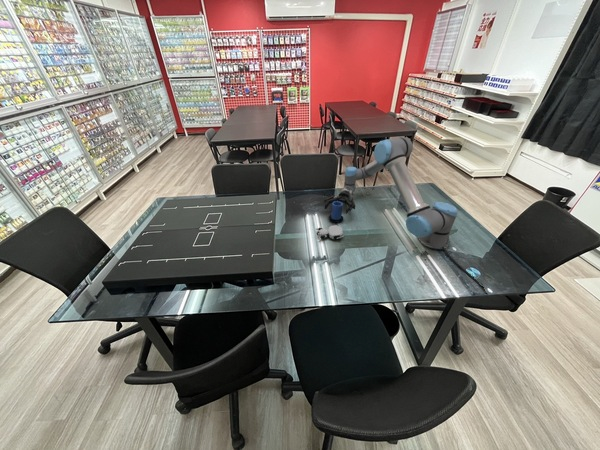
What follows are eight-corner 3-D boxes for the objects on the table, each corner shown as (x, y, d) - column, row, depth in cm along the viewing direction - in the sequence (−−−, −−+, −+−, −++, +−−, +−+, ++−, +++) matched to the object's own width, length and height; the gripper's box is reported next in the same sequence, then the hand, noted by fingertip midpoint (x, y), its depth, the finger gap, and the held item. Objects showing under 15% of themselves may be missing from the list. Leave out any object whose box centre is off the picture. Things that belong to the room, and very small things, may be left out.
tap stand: (343, 224, 154) (344, 210, 149) (328, 223, 155) (329, 209, 150) (342, 216, 162) (344, 203, 156) (329, 215, 162) (329, 202, 157)
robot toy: (318, 244, 139) (344, 241, 139) (317, 238, 136) (344, 235, 136) (315, 231, 149) (340, 229, 149) (315, 225, 146) (340, 222, 147)
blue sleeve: (341, 220, 155) (342, 206, 149) (331, 219, 155) (332, 205, 149) (340, 215, 160) (342, 201, 154) (331, 214, 160) (332, 200, 155)
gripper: (362, 203, 165) (355, 219, 149) (327, 196, 174) (316, 210, 158) (364, 193, 161) (356, 208, 145) (328, 186, 169) (316, 200, 153)
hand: (335, 209), depth 151 cm, fingers open, 13 cm apart
